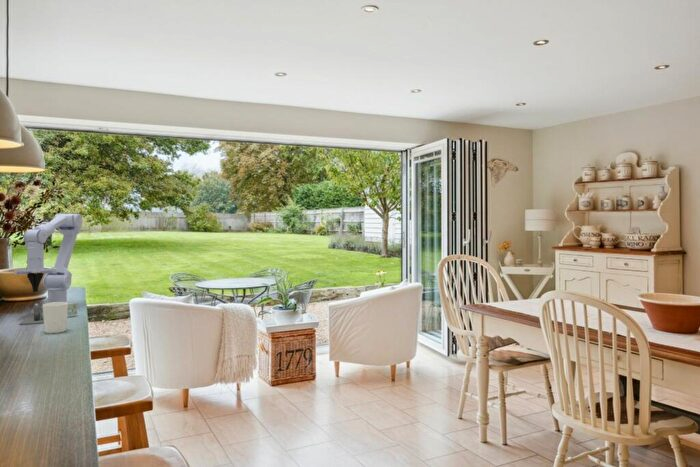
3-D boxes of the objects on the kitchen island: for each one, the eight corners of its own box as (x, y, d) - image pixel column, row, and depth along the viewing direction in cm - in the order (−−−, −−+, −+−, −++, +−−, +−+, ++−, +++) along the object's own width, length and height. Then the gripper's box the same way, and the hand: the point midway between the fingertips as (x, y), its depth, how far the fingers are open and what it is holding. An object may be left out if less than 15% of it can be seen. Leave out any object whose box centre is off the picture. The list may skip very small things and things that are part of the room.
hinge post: (34, 321, 198) (34, 303, 198) (40, 320, 199) (40, 303, 199) (33, 322, 196) (33, 304, 196) (39, 321, 197) (39, 304, 197)
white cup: (72, 329, 185) (72, 302, 185) (58, 334, 178) (58, 306, 177) (53, 328, 186) (52, 301, 186) (37, 333, 178) (37, 305, 178)
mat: (30, 314, 211) (30, 313, 211) (68, 312, 217) (68, 311, 217) (19, 325, 191) (19, 323, 191) (61, 322, 197) (61, 321, 197)
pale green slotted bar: (75, 313, 210) (75, 302, 210) (77, 314, 209) (77, 302, 209) (40, 318, 199) (40, 306, 199) (41, 319, 198) (41, 307, 198)
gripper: (12, 259, 199) (12, 293, 200) (54, 258, 205) (54, 292, 206) (16, 258, 206) (16, 291, 206) (56, 257, 212) (56, 289, 212)
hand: (35, 291), depth 206 cm, fingers closed
